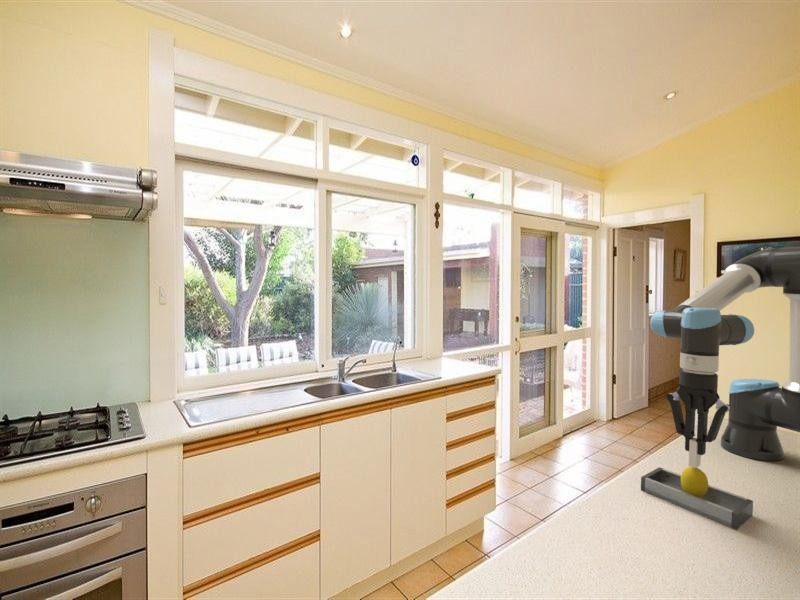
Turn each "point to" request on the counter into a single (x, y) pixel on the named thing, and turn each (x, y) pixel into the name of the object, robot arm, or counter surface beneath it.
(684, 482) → the lemon
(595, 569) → the counter surface
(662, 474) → the tray
